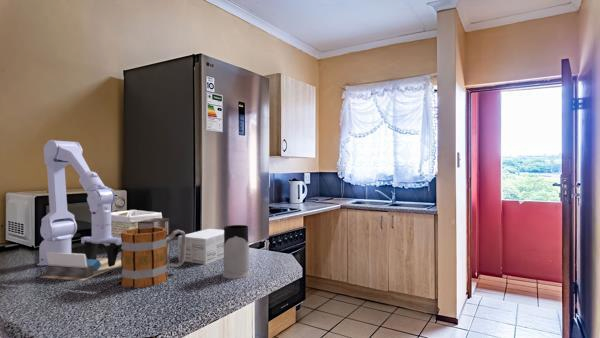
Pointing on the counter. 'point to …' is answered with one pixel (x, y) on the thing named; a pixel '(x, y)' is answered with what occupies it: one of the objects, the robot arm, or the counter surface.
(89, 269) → the board
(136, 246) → the mug
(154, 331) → the counter surface
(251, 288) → the counter surface
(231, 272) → the glass holder
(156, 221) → the coffee box
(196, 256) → the supplement box
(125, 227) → the storage basket
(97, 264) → the light blue rectangular box
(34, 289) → the counter surface
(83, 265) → the plate
